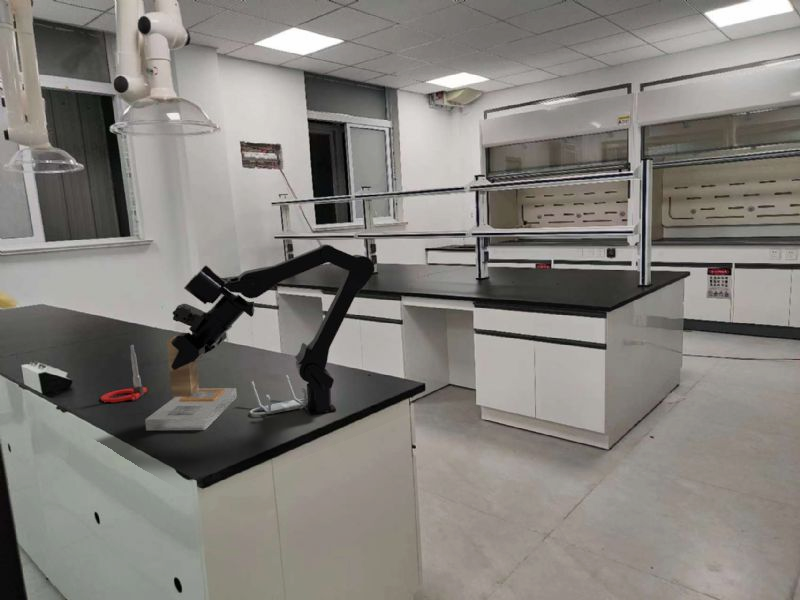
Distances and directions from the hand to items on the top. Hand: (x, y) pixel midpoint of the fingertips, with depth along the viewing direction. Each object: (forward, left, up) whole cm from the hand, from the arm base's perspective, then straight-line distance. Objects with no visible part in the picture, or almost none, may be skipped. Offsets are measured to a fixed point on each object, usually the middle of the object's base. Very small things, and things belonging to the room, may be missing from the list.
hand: (177, 365), depth 125 cm
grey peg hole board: (+4, -3, -13) cm, 14 cm away
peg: (-1, -1, -7) cm, 7 cm away
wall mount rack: (-1, -22, -13) cm, 26 cm away
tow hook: (+25, +13, -13) cm, 31 cm away
